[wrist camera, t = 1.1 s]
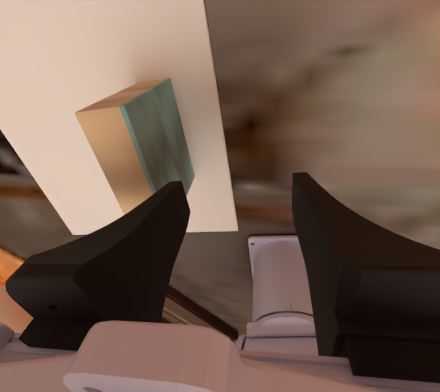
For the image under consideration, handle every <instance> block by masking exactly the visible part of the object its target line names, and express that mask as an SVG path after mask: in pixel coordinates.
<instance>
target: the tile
mask: <svg viewBox="0 0 440 392" xmlns="http://www.w3.org/2000/svg"><path fill="white" fill-rule="evenodd" d="M74 114H75V116H76V118H77V120H78V122H79V124H80V126H81V128H82V130H83V132H84V134H85V136H86V138H87V140H88V142H89V144H90V146H91V148H92V150H93V152H94V154H95V156H96V158H97V160H98V162H99V164H100V166H101V169H102V171H103V173H104V175H105V177H106V179H107V181H108V183H109V185H110V187H111V189H112V191H113V193H114V195H115V197H116V199H117V201H118V203H119V205H120V207H121V209H122V211H123V213H124V215H125V214H126V213H128V212H129V211H131V210H132V209H134V208H135V207H137V206H138V205H139V204H141V203H142V202H144V201H145V200H146V199H148V198H149V197H150V196H151V195H153V194H154V193H155V192H157V191H158V190H159V189H160V188H162V187H163V186H165V185H166V184H167V183H169V182H171V181H182V183H183V187H184V190H185V194H186V196H187V194H188V192H189V189H190V187H191V185H192V182H193V180H194V177H195V175H194V171H193V167H192V163H191V159H190V155H189V151H188V147H187V143H186V139H185V135H184V131H183V127H182V123H181V119H180V115H179V111H178V107H177V103H176V99H175V95H174V91H173V86H172V82H171V78H168V79H162V80H155V81H149V82H143V83H136V84H134V85H132V86H130V87H127V88H125V89H123V90H121V91H119V92H117V93H115V94H113V95H111V96H108V97H106V98H104V99H102V100H100V101H98V102H96V103H94V104H91V105H89V106H87V107H85V108H83V109H81V110H79V111H77V112H75V113H74Z"/></svg>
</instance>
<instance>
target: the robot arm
mask: <svg viewBox="0 0 440 392" xmlns="http://www.w3.org/2000/svg"><path fill="white" fill-rule="evenodd" d="M292 210H293V218H294V225H295V229H296V233H297V235H286V236H250V237H249V238H248V245H249V253H250V261H251V269H252V277H253V315H252V323H247V333H246V335H241V336H239V338H238V339H237V341H236V343H235V344H233V342H232V341H231V340H230V338H229V337H228V336H226V335H224V334H222V333H220V332H218V331H216V330H214V329H212V328H207V327H201V326H196V325H185V324H167V323H161V319H162V313H163V308H164V303H165V298H166V294H167V289H168V285H169V281H170V277H171V273H172V269H173V266H174V263H175V260H176V257H177V254H178V252H179V249H180V246H181V244H182V241H183V238H184V235H185V233H186V230H187V227H188V222H189V217H190V212H191V211H190V208H189V204H188V201H187V197H186V194H185V190H184V187H183V183H182V181H171V182H169V183H167V184H166V185H165V186H163V187H162V188H160V189H159V190H158V191H157V192H155V193H154V194H153V195H151V196H150V197H149V198H148V199H146V200H145V201H144V202H142V203H141V204H139V205H138V206H137V207H135V208H134V209H132V210H131V211H129V212H128V213H126V214H125V215H123V216H122V217H120V218H119V219H117V220H115V221H113V222H112V223H110V224H108V225H106V226H104V227H102V228H100V229H98V230H96V231H94V232H92V233H90V234H88V235H86V236H84V237H81V238H79V239H77V240H74V241H72V242H70V243H67V244H65V245H62V246H59V247H56V248H53V249H51V250H48V251H45V252H42V253H39V254H36V255H33V256H31V257H29V258H28V259H27V260H26V261H25V262H24V263H23V264H22V265H21V266H20V267H19V268H18V269H17V270H16V271H15V272H14V273H13V274H12V275H11V276H10V277H9V278H8V280H7V281H6V290H7V292H8V294H9V296H10V297H11V298H12V299H13V300H14V301H15V302H17V303H18V304H19V305H20V306H21V307H22V308H23V309H24V310H26V311H27V312H28V313H29V314H30V315H31V316H32V317H33V318H34V319H33V320H32V321H31V322H30V324H29V325H28V326H27V328H26V329H25V330H24V332H23V333H14V331H13V330H12V329H11V328H10V327H8V326H7V325H5V324H3V323H1V322H0V392H440V250H438V249H435V248H432V247H429V246H427V245H424V244H421V243H418V242H415V241H413V240H410V239H408V238H405V237H403V236H401V235H398V234H396V233H394V232H391V231H389V230H387V229H385V228H383V227H381V226H379V225H377V224H375V223H373V222H371V221H369V220H367V219H365V218H364V217H362V216H360V215H359V214H357V213H355V212H354V211H352V210H350V209H349V208H347V207H346V206H345V205H343V204H342V203H340V202H339V201H338V200H336V199H335V198H334V197H333V196H331V195H330V194H329V193H328V192H327V191H326V190H324V189H323V188H322V187H321V186H320V185H319V184H318V183H317V182H316V181H315V180H314V179H313V178H312V177H311V176H310V175H309V174H308V173H307V172H302V173H293V186H292Z"/></svg>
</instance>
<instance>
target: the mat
mask: <svg viewBox="0 0 440 392" xmlns="http://www.w3.org/2000/svg"><path fill="white" fill-rule="evenodd" d="M168 78H171V82H172V86H173V91H174V95H175V99H176V103H177V107H178V111H179V115H180V119H181V123H182V127H183V131H184V135H185V139H186V143H187V147H188V151H189V155H190V159H191V163H192V167H193V171H194V175H195V177H194V180H193V182H192V185H191V187H190V189H189V192H188V194H187V196H186V197H187V201H188V204H189V208H190V211H191V212H190V217H189V222H188V227H187V230H186V232H216V231H238V223H237V216H236V210H235V203H234V196H233V190H232V183H231V176H230V170H229V163H228V156H227V150H226V143H225V136H224V130H223V123H222V116H221V110H220V103H219V97H218V90H217V83H216V77H215V70H214V63H213V57H212V50H211V43H210V37H209V30H208V23H207V17H206V10H205V3H204V0H0V129H1V131H2V132H3V134H4V135H5V137H6V138H7V140H8V141H9V142H10V144H11V145H12V147H13V148H14V150H15V151H16V153H17V154H18V156H19V157H20V158H21V160H22V161H23V163H24V164H25V166H26V167H27V169H28V170H29V172H30V173H31V174H32V176H33V177H34V179H35V180H36V182H37V183H38V185H39V186H40V188H41V189H42V190H43V192H44V193H45V195H46V196H47V198H48V199H49V201H50V202H51V203H52V205H53V206H54V208H55V209H56V211H57V212H58V214H59V215H60V217H61V218H62V219H63V221H64V222H65V224H66V225H67V227H68V228H69V230H70V231H71V233H72V234H73V235H83V234H90V233H92V232H94V231H96V230H98V229H100V228H102V227H104V226H106V225H108V224H110V223H112V222H113V221H115V220H117V219H119V218H120V217H122V216H123V215H124V213H123V211H122V209H121V207H120V205H119V203H118V201H117V199H116V197H115V195H114V193H113V191H112V189H111V187H110V185H109V183H108V181H107V179H106V177H105V175H104V173H103V171H102V169H101V166H100V164H99V162H98V160H97V158H96V156H95V154H94V152H93V150H92V148H91V146H90V144H89V142H88V140H87V138H86V136H85V134H84V132H83V130H82V128H81V126H80V124H79V122H78V120H77V118H76V116H75V114H74V113H75V112H77V111H79V110H81V109H83V108H85V107H87V106H89V105H91V104H94V103H96V102H98V101H100V100H102V99H104V98H106V97H108V96H111V95H113V94H115V93H117V92H119V91H121V90H123V89H125V88H127V87H130V86H132V85H134V84H136V83H143V82H149V81H155V80H162V79H168Z"/></svg>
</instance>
